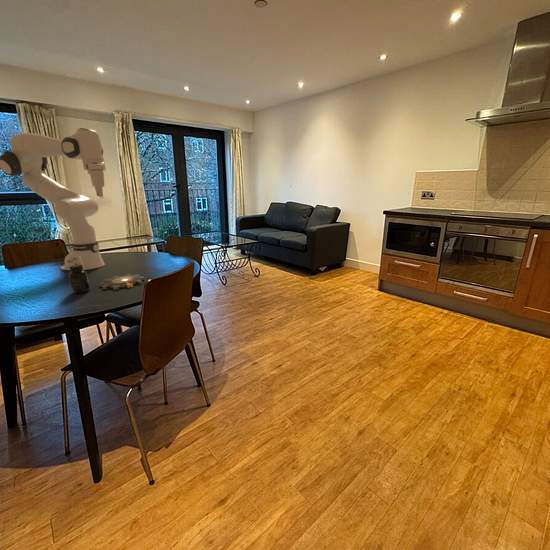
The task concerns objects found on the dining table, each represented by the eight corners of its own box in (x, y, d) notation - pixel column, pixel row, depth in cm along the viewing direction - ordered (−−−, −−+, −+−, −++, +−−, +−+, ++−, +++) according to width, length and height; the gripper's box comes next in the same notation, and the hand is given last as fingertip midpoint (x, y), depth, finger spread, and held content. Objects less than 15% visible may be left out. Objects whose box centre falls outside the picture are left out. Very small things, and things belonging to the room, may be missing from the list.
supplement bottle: (94, 289, 136) (88, 264, 132) (80, 294, 130) (74, 268, 126) (83, 288, 138) (77, 263, 134) (69, 293, 132) (62, 267, 128)
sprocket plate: (91, 289, 136) (90, 285, 135) (117, 276, 154) (116, 273, 153) (129, 290, 133) (128, 287, 133) (151, 277, 151) (151, 274, 150)
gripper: (85, 167, 146) (91, 196, 151) (87, 165, 130) (94, 197, 134) (100, 167, 150) (105, 195, 154) (104, 165, 134) (109, 197, 138)
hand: (100, 196), depth 144 cm, fingers open, 8 cm apart
